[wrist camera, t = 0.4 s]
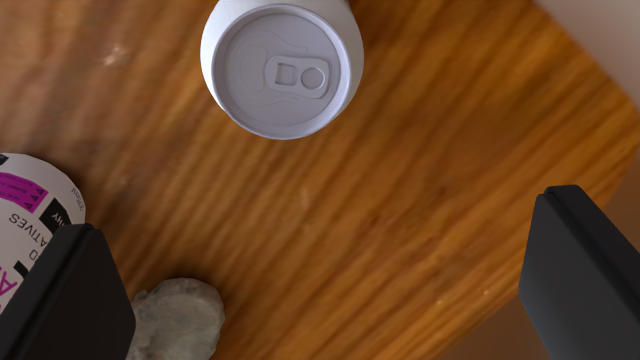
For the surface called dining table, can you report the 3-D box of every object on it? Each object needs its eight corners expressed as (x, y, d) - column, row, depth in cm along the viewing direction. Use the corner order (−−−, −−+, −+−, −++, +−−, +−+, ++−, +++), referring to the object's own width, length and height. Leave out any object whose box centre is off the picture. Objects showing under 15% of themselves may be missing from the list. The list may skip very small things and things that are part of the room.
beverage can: (233, -68, 27) (196, -32, 17) (355, -45, 28) (387, 2, 18) (224, 52, 31) (189, 142, 21) (332, 69, 32) (349, 163, 22)
